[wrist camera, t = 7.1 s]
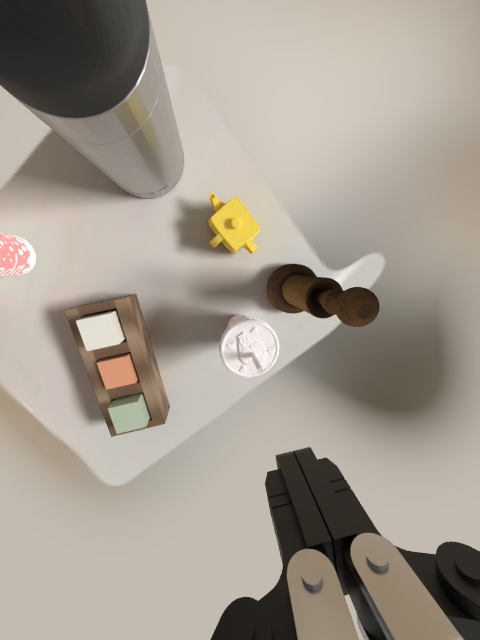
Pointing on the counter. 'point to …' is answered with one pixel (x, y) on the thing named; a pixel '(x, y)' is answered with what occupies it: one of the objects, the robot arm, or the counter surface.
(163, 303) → the counter surface
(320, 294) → the mortar and pestle
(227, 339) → the smoothie
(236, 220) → the teapot
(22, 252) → the beverage cup
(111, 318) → the offwhite key
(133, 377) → the terracotta key
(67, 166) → the counter surface
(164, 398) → the key panel
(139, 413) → the sage key
